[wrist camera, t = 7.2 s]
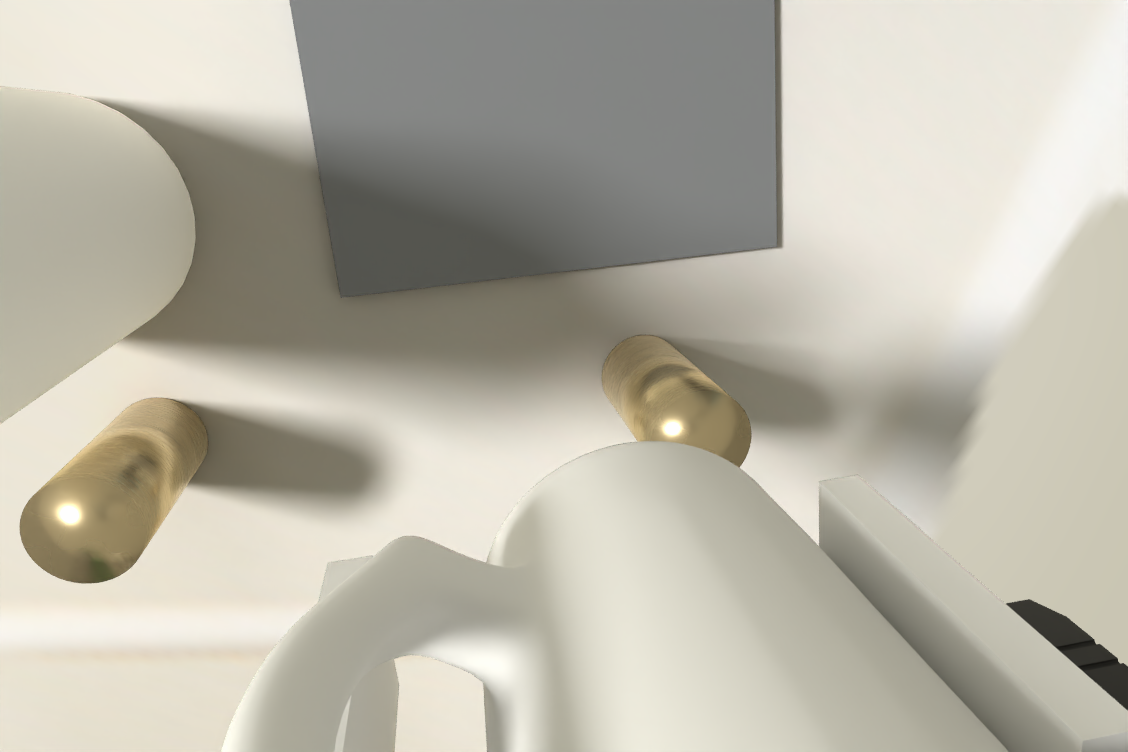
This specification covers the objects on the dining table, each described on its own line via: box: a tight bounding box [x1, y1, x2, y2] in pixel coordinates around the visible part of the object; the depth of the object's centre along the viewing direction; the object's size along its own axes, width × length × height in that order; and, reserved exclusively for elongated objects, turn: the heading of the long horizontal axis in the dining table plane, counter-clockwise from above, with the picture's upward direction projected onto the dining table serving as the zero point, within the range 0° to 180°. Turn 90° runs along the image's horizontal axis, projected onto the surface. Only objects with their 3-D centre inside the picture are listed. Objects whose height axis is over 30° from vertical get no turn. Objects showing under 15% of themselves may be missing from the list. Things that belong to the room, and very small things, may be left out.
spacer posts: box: [20, 335, 751, 583], centre depth 34 cm, size 24×24×8 cm
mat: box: [289, 0, 777, 298], centre depth 31 cm, size 18×18×1 cm
